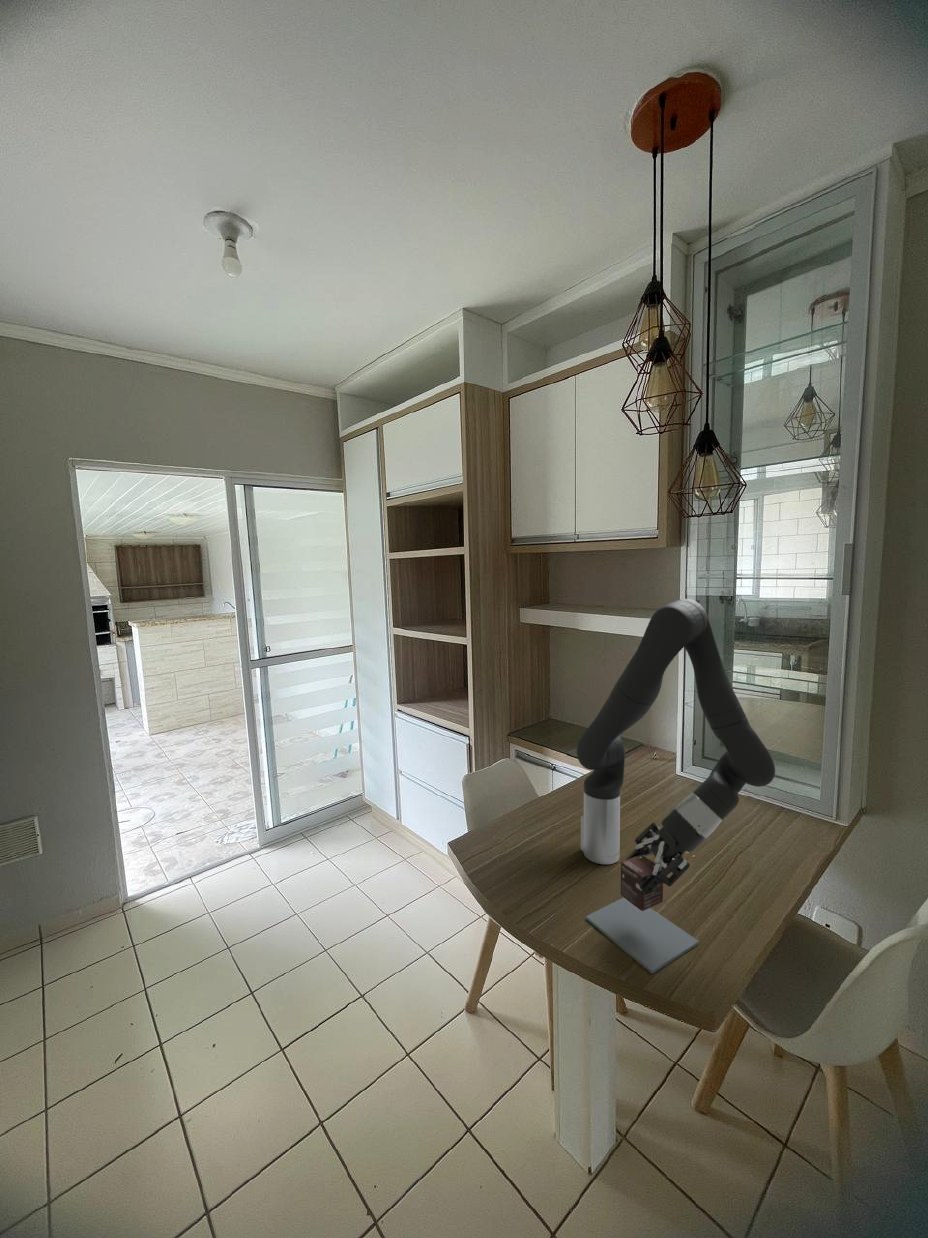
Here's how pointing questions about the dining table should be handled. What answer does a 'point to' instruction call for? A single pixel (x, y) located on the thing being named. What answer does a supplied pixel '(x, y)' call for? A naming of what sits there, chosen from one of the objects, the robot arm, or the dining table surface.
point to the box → (633, 876)
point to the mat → (642, 934)
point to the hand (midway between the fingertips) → (634, 877)
